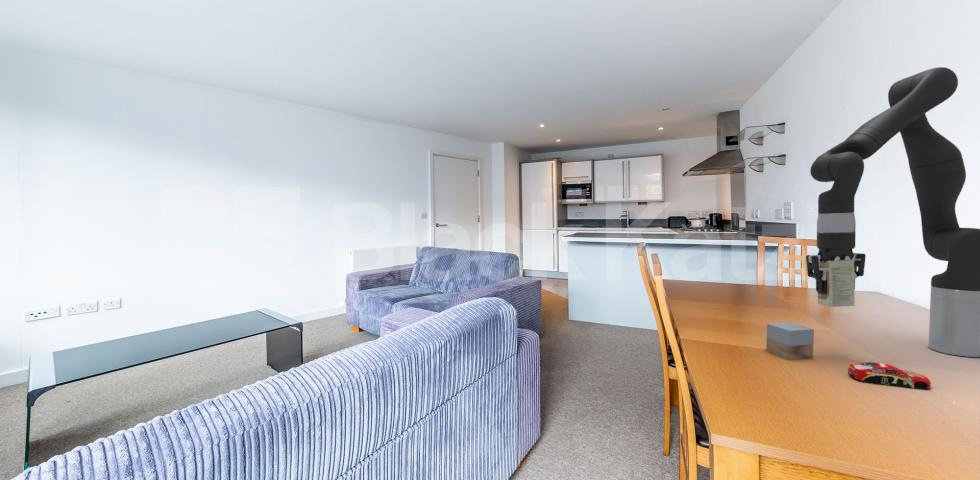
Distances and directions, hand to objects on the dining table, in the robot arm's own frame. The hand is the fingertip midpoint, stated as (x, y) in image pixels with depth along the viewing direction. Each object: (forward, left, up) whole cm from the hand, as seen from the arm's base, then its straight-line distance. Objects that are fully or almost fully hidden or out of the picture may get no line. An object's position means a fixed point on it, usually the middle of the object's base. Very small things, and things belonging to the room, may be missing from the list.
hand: (835, 293), depth 100 cm
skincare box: (0, 0, -3) cm, 3 cm away
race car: (+3, +16, -17) cm, 24 cm away
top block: (+11, -1, -13) cm, 17 cm away
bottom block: (+11, -1, -17) cm, 20 cm away
